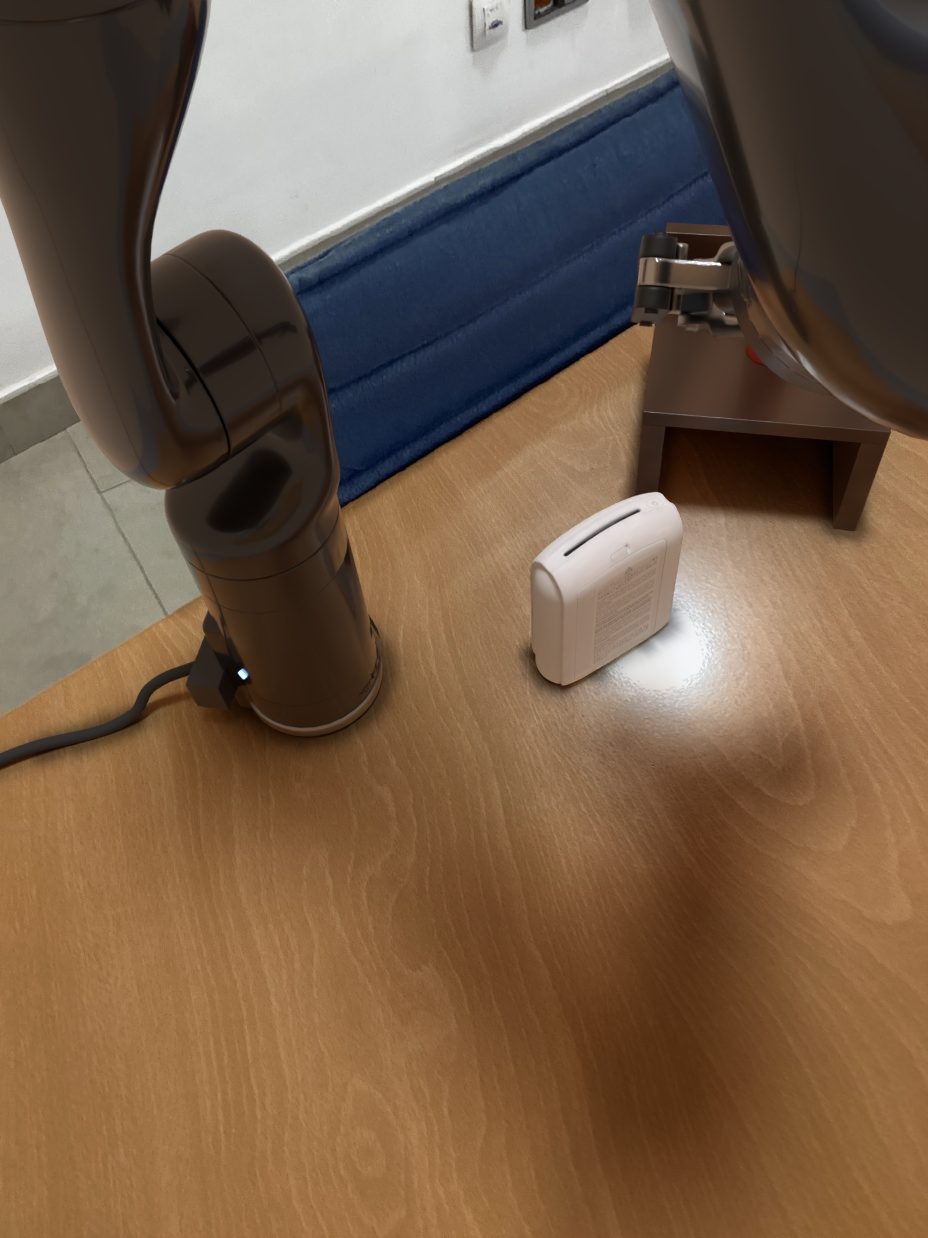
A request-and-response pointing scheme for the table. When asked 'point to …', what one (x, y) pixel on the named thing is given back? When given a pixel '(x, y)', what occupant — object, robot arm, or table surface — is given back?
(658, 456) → the shelf
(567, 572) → the photo printer
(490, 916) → the table surface
